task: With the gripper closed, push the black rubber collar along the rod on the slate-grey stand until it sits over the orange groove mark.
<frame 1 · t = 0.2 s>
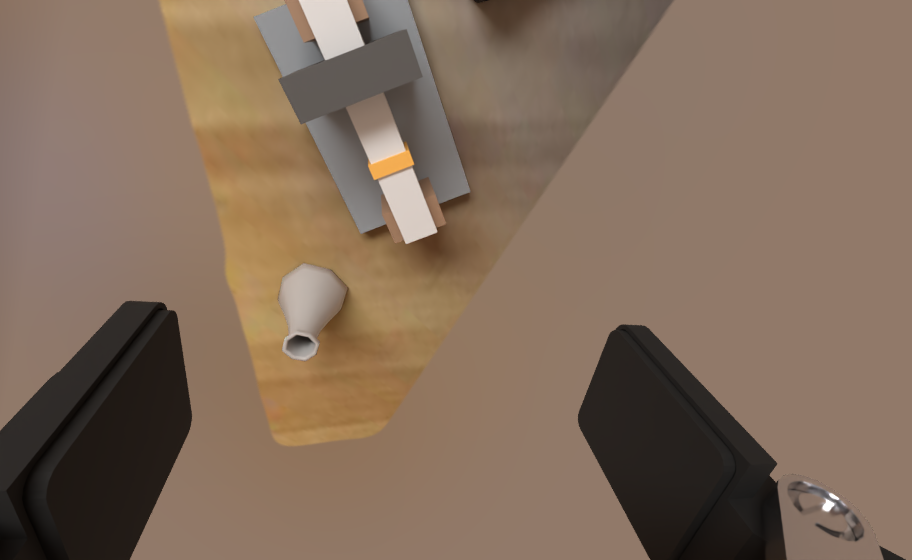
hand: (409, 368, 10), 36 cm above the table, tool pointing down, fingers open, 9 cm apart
pipe stand: (375, 112, 41), on the table
flask: (313, 291, 49), on the table
collar: (354, 73, 33), point 6 cm above the table, slide at 0.0 cm
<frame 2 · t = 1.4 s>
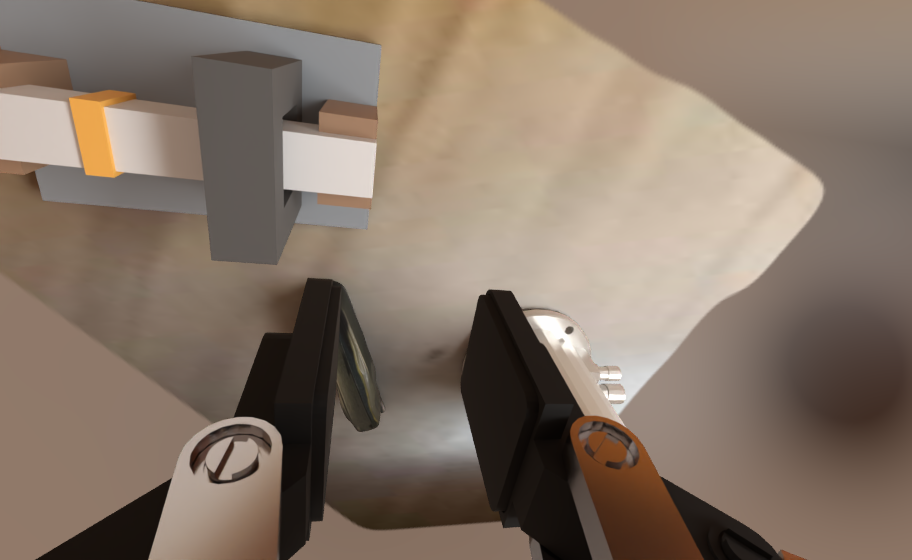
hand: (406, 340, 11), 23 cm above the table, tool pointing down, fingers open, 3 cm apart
pipe stand: (216, 120, 28), on the table
mobile phone: (353, 347, 39), on the table
collar: (261, 150, 24), point 7 cm above the table, slide at 0.0 cm
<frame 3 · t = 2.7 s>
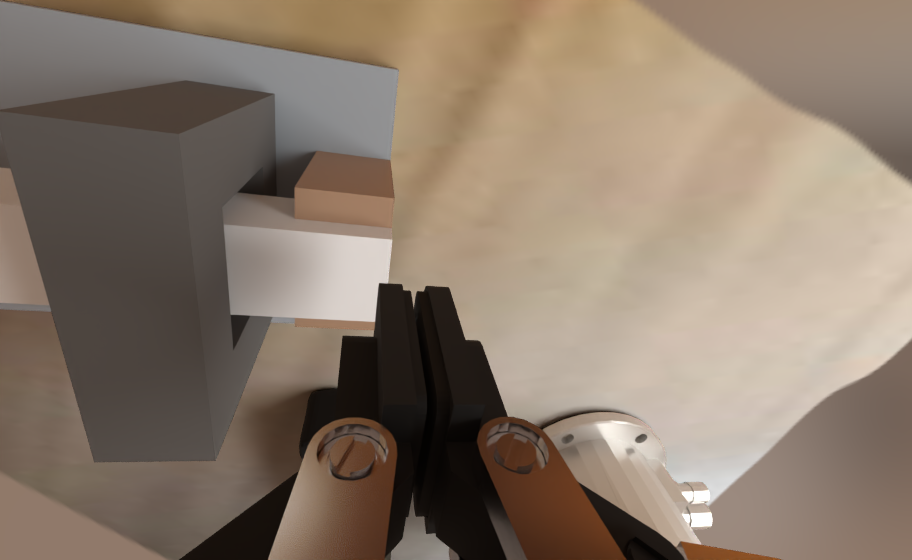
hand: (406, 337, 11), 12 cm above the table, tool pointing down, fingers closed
pipe stand: (151, 180, 19), on the table
mobile phone: (358, 465, 29), on the table
collar: (199, 248, 14), point 7 cm above the table, slide at 0.0 cm
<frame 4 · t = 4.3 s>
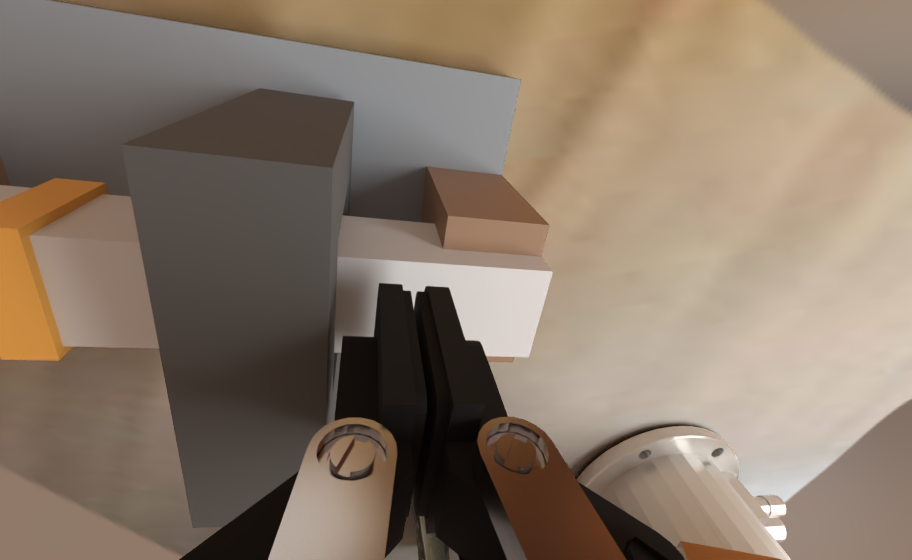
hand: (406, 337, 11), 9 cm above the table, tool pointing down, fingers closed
pipe stand: (244, 198, 18), on the table
mobile phone: (433, 485, 29), on the table
collar: (287, 277, 13), point 6 cm above the table, slide at 1.3 cm, touching gripper
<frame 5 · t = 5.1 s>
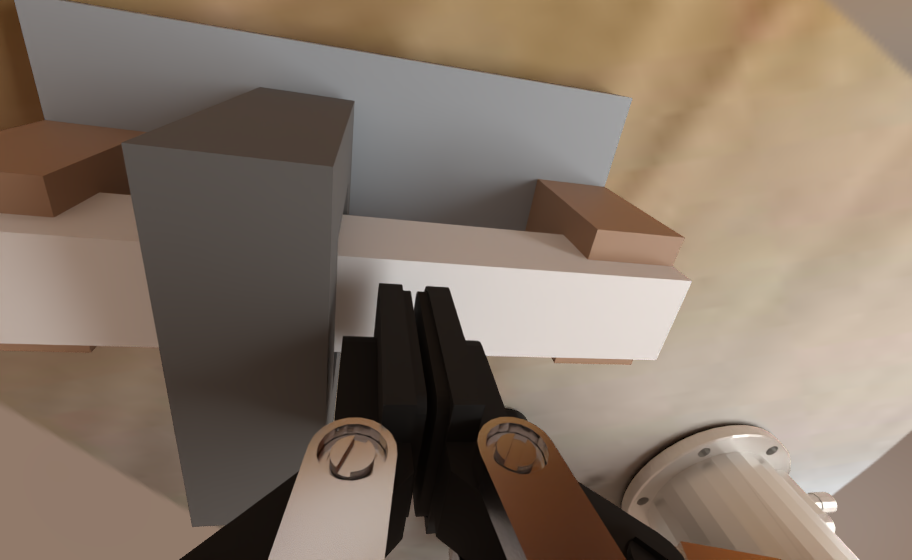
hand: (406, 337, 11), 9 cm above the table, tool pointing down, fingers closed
pipe stand: (359, 208, 19), on the table
collar: (287, 276, 13), point 7 cm above the table, slide at 5.9 cm, touching gripper
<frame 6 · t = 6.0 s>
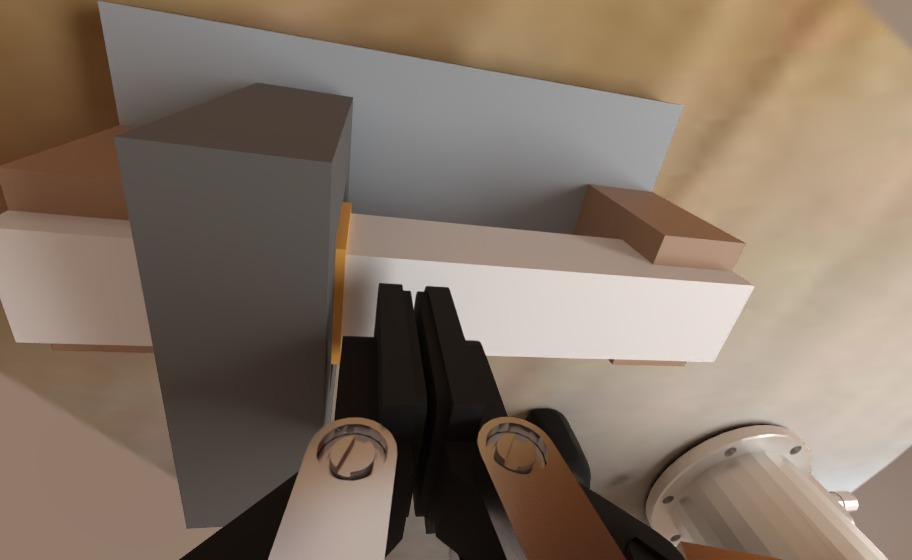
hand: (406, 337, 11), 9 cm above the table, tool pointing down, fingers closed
pipe stand: (410, 211, 19), on the table
mobile phone: (532, 482, 30), on the table
collar: (284, 275, 12), point 7 cm above the table, slide at 8.1 cm, touching gripper
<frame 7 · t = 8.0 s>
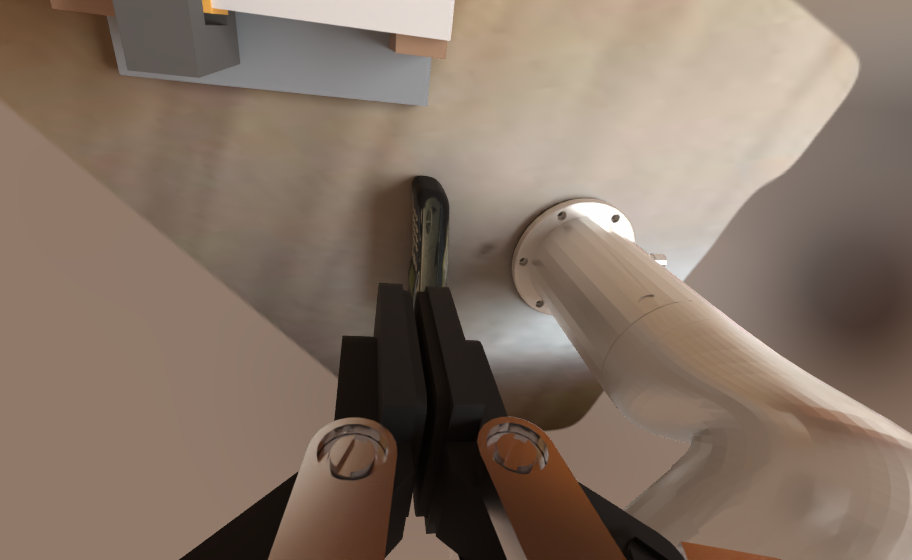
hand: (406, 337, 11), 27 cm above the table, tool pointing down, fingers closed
mobile phone: (423, 252, 41), on the table
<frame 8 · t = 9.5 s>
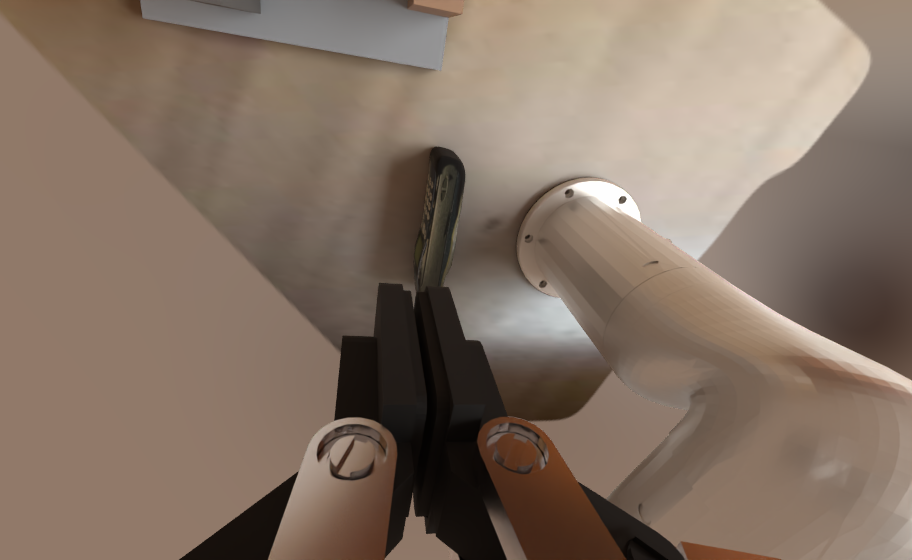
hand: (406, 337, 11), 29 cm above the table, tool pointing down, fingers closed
mobile phone: (432, 226, 41), on the table
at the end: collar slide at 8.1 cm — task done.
